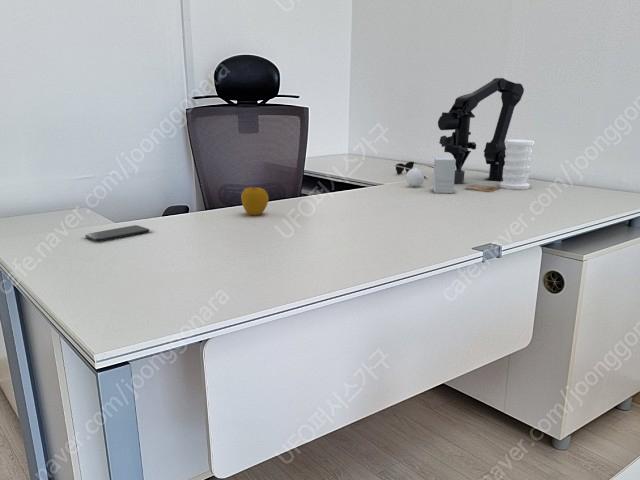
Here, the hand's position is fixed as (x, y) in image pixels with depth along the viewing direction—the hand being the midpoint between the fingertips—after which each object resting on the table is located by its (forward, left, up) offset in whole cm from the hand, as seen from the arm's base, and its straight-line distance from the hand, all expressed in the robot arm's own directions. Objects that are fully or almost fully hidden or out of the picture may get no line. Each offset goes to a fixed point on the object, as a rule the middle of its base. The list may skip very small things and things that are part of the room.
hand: (458, 168), depth 245 cm
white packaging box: (+22, +3, -6) cm, 23 cm away
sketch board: (+7, +13, -6) cm, 16 cm away
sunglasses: (-8, -23, -6) cm, 25 cm away
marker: (0, 0, -3) cm, 3 cm away
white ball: (+18, -12, -6) cm, 22 cm away
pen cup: (0, 0, -6) cm, 6 cm away
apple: (+95, -27, -6) cm, 99 cm away
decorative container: (-5, +22, -6) cm, 24 cm away
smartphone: (+138, -40, -6) cm, 144 cm away
